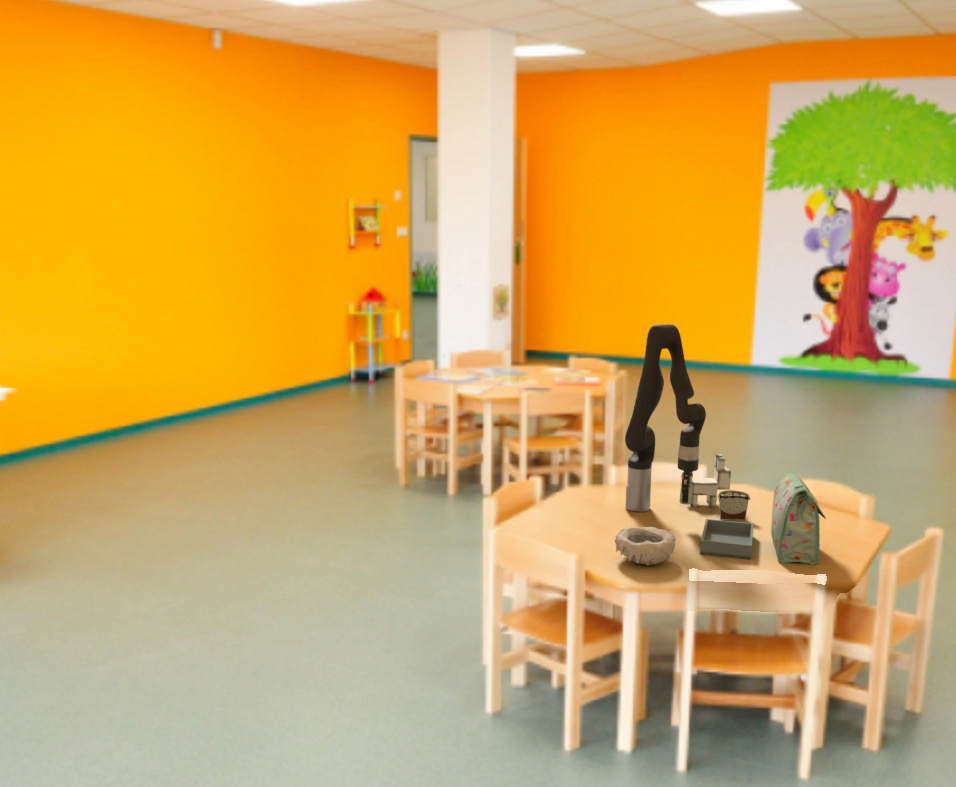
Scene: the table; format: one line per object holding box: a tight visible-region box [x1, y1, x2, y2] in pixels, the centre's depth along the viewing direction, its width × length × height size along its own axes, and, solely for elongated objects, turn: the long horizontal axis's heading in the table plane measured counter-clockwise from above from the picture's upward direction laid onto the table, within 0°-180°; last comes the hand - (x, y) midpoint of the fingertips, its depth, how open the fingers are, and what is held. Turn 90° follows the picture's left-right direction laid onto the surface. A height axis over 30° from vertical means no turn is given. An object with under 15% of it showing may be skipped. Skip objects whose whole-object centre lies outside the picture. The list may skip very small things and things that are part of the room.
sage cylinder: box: [679, 484, 693, 506], centre depth 374 cm, size 4×4×7 cm
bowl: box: [614, 526, 676, 567], centre depth 341 cm, size 21×20×10 cm
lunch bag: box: [770, 472, 827, 566], centre depth 347 cm, size 23×16×27 cm
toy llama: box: [689, 453, 732, 508], centre depth 400 cm, size 8×18×20 cm, turn 88°
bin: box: [699, 518, 754, 560], centre depth 356 cm, size 17×24×5 cm
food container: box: [717, 489, 751, 521], centre depth 386 cm, size 12×6×10 cm, turn 84°
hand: (685, 500), depth 374 cm, fingers closed on sage cylinder, 4 cm apart
